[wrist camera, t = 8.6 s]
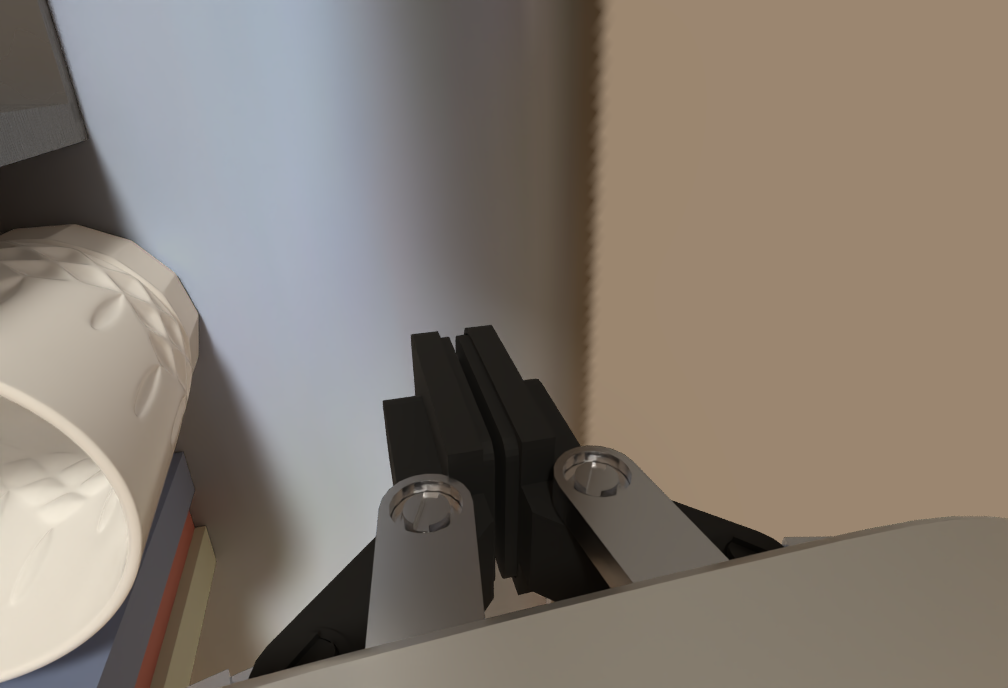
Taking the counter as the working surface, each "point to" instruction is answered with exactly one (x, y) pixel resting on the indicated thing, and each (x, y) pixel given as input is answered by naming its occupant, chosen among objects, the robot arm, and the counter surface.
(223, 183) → the counter surface
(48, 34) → the bookend
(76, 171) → the counter surface
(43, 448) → the white cup
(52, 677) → the book row
